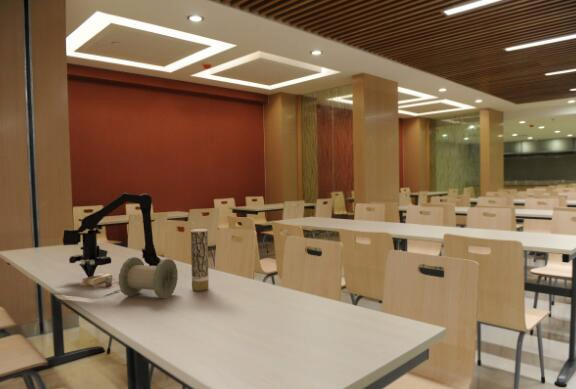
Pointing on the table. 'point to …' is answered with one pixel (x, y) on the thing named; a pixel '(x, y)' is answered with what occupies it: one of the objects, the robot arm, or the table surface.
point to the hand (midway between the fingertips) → (90, 279)
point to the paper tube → (199, 259)
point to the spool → (148, 277)
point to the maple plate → (96, 279)
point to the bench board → (106, 284)
